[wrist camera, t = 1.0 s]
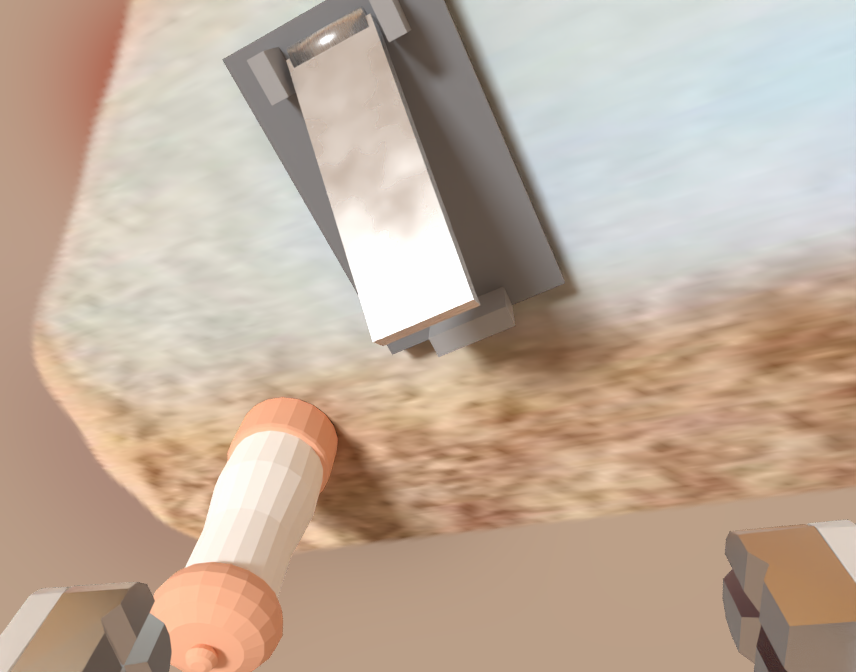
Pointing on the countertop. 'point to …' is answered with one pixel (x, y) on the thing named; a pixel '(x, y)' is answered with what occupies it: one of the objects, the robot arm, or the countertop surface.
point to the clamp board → (444, 147)
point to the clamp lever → (378, 180)
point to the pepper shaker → (248, 540)
